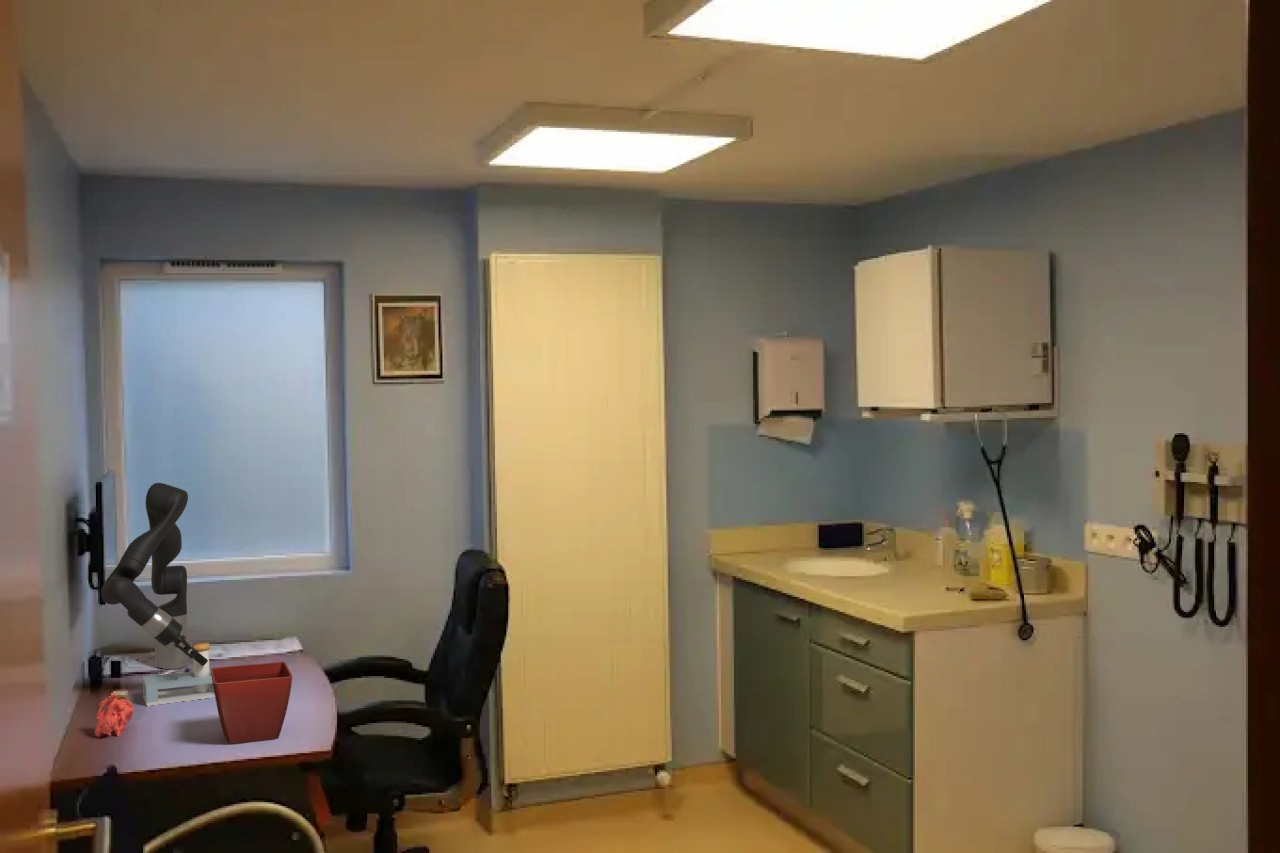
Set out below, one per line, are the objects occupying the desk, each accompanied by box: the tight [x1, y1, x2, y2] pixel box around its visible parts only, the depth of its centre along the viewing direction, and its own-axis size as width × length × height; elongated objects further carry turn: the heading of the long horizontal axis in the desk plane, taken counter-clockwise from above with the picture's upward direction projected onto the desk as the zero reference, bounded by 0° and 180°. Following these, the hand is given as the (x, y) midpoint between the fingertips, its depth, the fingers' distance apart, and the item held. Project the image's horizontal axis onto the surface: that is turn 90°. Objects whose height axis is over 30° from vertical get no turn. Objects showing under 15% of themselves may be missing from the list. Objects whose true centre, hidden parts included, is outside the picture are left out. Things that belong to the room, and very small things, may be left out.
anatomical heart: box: [94, 692, 134, 738], centre depth 305 cm, size 9×12×12 cm
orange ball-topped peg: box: [192, 642, 211, 693], centre depth 344 cm, size 5×5×14 cm
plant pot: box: [210, 661, 293, 744], centre depth 302 cm, size 19×19×17 cm
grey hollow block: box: [142, 668, 215, 707], centre depth 342 cm, size 22×12×6 cm, turn 118°
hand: (203, 660), depth 345 cm, fingers open, 8 cm apart
